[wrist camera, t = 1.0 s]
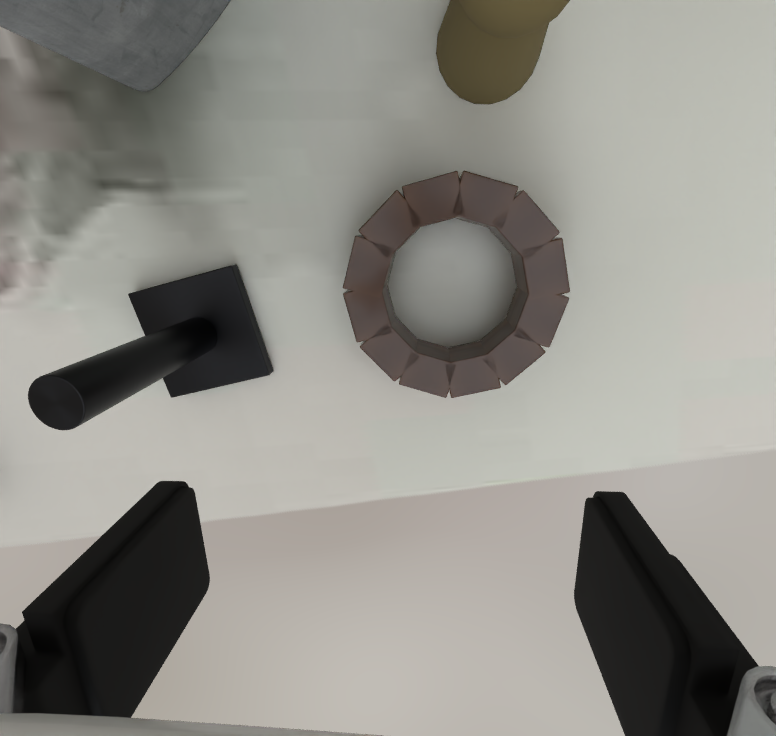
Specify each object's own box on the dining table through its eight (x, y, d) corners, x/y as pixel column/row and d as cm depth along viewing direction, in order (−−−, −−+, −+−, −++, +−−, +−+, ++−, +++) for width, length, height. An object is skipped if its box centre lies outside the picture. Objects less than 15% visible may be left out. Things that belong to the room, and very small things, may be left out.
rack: (237, 264, 31) (96, 292, 18) (274, 371, 33) (172, 466, 20) (136, 292, 32) (-67, 337, 19) (177, 393, 35) (21, 497, 21)
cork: (501, 124, 27) (548, 62, 17) (416, 69, 27) (410, -31, 16) (563, 21, 26) (657, -121, 15) (473, -41, 25) (507, -232, 15)
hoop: (534, 154, 28) (549, 144, 24) (565, 355, 31) (582, 371, 28) (331, 212, 30) (318, 210, 26) (382, 394, 33) (376, 413, 30)
